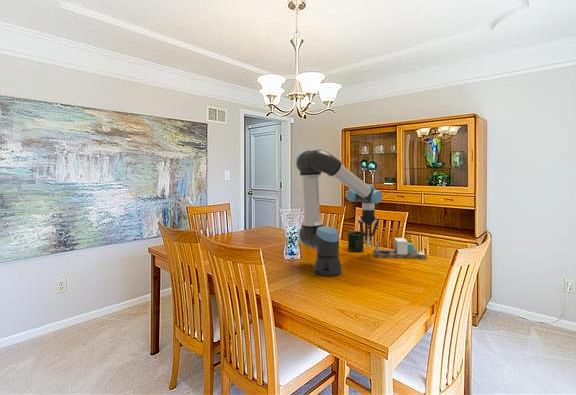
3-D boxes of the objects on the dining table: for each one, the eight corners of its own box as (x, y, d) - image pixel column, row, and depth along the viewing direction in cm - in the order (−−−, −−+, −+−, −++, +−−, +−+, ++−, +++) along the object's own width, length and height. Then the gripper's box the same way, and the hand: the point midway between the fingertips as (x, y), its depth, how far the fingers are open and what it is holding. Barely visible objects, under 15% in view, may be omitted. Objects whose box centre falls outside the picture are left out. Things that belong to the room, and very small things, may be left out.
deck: (375, 257, 198) (375, 253, 198) (373, 253, 209) (373, 249, 209) (426, 259, 194) (426, 255, 194) (421, 254, 205) (421, 250, 205)
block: (403, 251, 199) (403, 244, 198) (401, 249, 203) (401, 242, 203) (413, 251, 198) (413, 244, 198) (411, 250, 202) (411, 242, 202)
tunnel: (397, 254, 197) (397, 241, 196) (394, 250, 207) (394, 237, 206) (407, 254, 196) (407, 241, 195) (403, 250, 206) (404, 238, 205)
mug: (344, 251, 215) (345, 233, 214) (352, 246, 227) (353, 229, 226) (360, 253, 209) (361, 235, 208) (367, 248, 221) (368, 231, 220)
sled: (376, 252, 200) (376, 244, 199) (374, 249, 207) (375, 242, 207) (417, 253, 196) (417, 245, 196) (414, 250, 204) (414, 243, 203)
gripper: (358, 210, 199) (358, 247, 201) (379, 210, 197) (379, 248, 199) (357, 208, 206) (357, 244, 209) (378, 208, 205) (378, 245, 207)
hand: (368, 246), depth 204 cm, fingers closed
